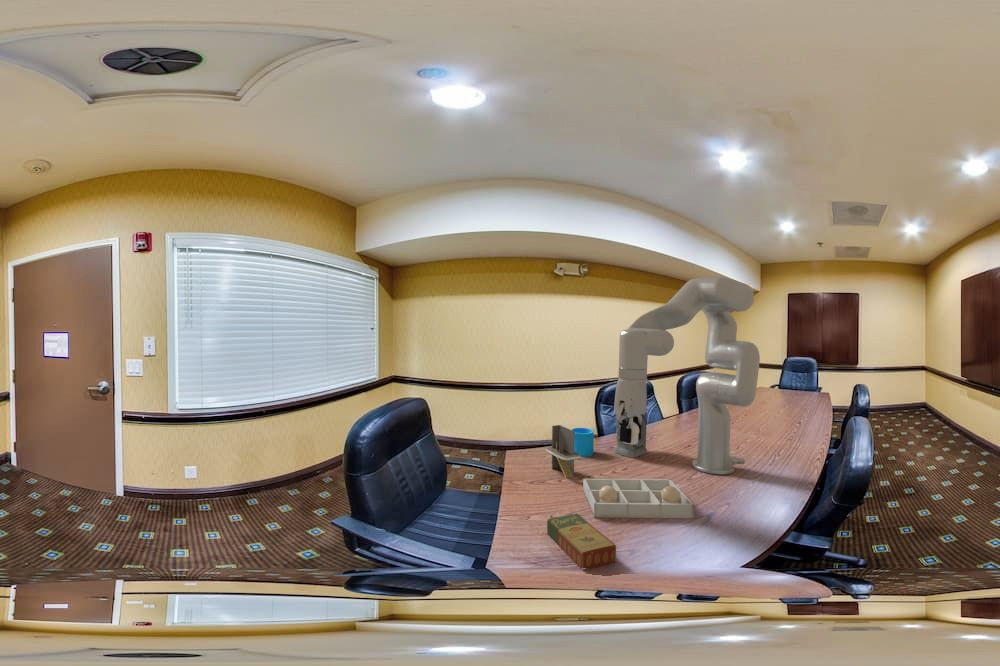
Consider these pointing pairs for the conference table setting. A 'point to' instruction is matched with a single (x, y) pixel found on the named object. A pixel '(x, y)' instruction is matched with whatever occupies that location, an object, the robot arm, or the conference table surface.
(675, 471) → the conference table surface
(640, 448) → the figurine
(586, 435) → the mug
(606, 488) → the egg in carton
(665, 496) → the egg in carton
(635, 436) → the loose egg
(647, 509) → the egg tray
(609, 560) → the carton
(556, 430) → the toy chair
